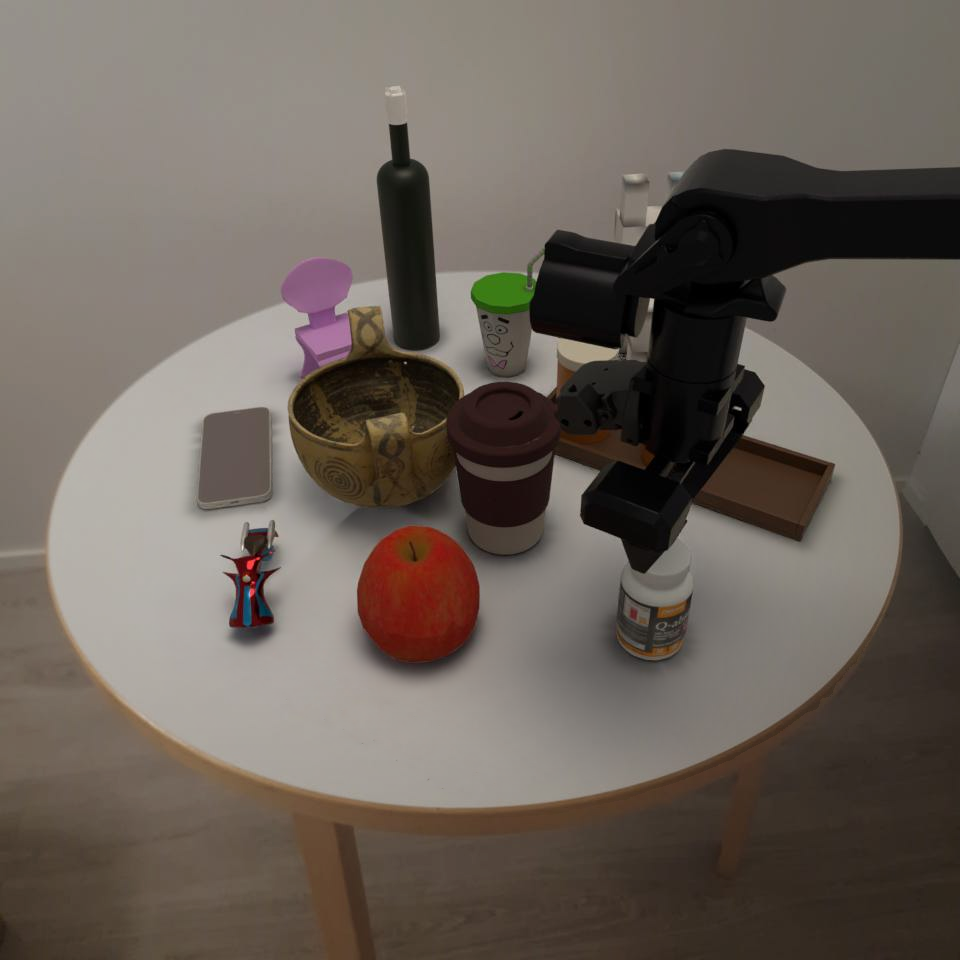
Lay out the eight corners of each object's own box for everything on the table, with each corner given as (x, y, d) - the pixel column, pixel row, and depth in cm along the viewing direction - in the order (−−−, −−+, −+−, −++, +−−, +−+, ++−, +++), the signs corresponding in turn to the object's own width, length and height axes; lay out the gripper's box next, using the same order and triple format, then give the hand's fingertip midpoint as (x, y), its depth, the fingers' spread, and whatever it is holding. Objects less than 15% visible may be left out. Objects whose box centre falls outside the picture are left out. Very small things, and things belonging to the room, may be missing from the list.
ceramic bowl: (490, 544, 85) (486, 416, 76) (309, 573, 83) (280, 446, 74) (451, 407, 102) (443, 287, 92) (298, 428, 100) (274, 308, 90)
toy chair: (321, 416, 101) (299, 297, 92) (291, 379, 107) (268, 263, 97) (387, 393, 105) (373, 275, 95) (355, 357, 110) (339, 243, 100)
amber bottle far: (622, 420, 99) (629, 339, 92) (596, 451, 95) (602, 369, 88) (571, 403, 101) (574, 323, 94) (544, 433, 97) (545, 352, 91)
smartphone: (195, 505, 90) (202, 414, 101) (197, 511, 90) (204, 420, 101) (271, 494, 90) (270, 405, 102) (273, 501, 91) (271, 412, 102)
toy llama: (632, 402, 102) (648, 236, 89) (607, 321, 115) (618, 165, 102) (698, 399, 102) (725, 232, 89) (666, 317, 115) (685, 162, 102)
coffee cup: (443, 506, 90) (434, 380, 80) (540, 487, 91) (542, 362, 82) (467, 577, 82) (460, 448, 73) (571, 555, 84) (578, 427, 74)
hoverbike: (222, 648, 77) (207, 604, 73) (239, 547, 86) (226, 504, 83) (283, 642, 77) (271, 598, 74) (293, 543, 86) (283, 499, 83)
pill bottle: (662, 674, 74) (676, 592, 67) (602, 642, 76) (609, 559, 70) (695, 630, 77) (711, 547, 71) (636, 600, 80) (646, 518, 73)
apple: (451, 569, 83) (444, 483, 76) (503, 648, 76) (501, 561, 69) (345, 609, 80) (329, 523, 73) (390, 696, 73) (376, 609, 66)
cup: (461, 374, 107) (455, 258, 97) (493, 342, 112) (491, 228, 102) (520, 392, 104) (520, 273, 94) (551, 358, 109) (553, 242, 99)
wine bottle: (447, 330, 114) (431, 82, 95) (428, 354, 110) (407, 100, 91) (406, 322, 116) (382, 76, 96) (385, 345, 112) (356, 94, 93)
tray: (831, 479, 91) (835, 463, 90) (800, 541, 85) (804, 525, 83) (563, 392, 104) (564, 378, 102) (518, 441, 97) (518, 426, 96)
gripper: (637, 267, 68) (619, 432, 78) (510, 395, 56) (509, 569, 66) (785, 305, 63) (745, 475, 73) (681, 453, 51) (651, 631, 62)
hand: (664, 531), depth 69 cm, fingers open, 9 cm apart
